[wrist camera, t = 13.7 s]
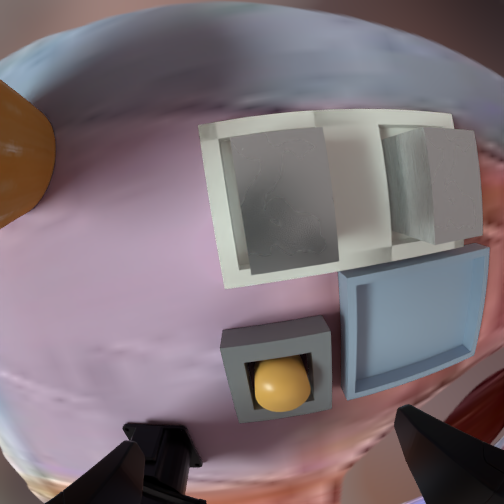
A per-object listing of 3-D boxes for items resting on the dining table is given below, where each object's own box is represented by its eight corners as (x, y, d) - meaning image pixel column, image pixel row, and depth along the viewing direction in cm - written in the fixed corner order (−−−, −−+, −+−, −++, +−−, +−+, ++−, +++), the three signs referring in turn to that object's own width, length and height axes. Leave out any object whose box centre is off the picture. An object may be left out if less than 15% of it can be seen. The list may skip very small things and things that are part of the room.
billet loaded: (314, 241, 18) (339, 261, 13) (249, 251, 18) (251, 275, 13) (301, 143, 16) (322, 127, 11) (234, 152, 16) (229, 137, 11)
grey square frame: (324, 389, 21) (331, 408, 19) (239, 402, 21) (239, 423, 19) (321, 314, 20) (330, 331, 17) (222, 330, 20) (219, 348, 17)
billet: (436, 223, 17) (482, 235, 13) (391, 230, 18) (434, 245, 13) (428, 139, 16) (473, 130, 11) (381, 139, 16) (423, 126, 11)
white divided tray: (446, 244, 19) (463, 249, 17) (227, 281, 19) (225, 293, 17) (434, 115, 17) (450, 110, 15) (202, 128, 17) (197, 121, 15)
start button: (304, 381, 20) (311, 407, 17) (257, 389, 20) (259, 415, 17) (301, 343, 20) (309, 367, 17) (250, 351, 20) (251, 376, 17)
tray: (463, 346, 21) (474, 355, 19) (340, 386, 21) (347, 400, 19) (475, 242, 19) (489, 247, 17) (337, 269, 19) (346, 278, 17)
